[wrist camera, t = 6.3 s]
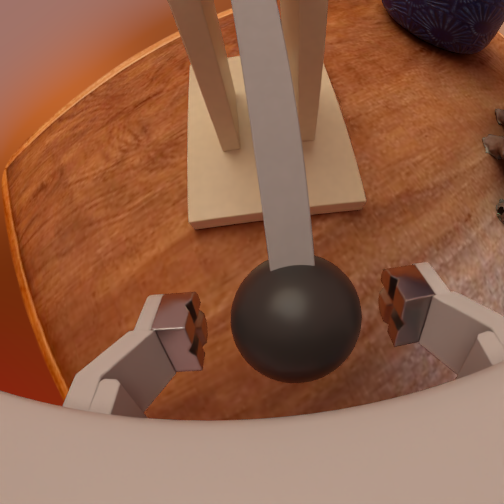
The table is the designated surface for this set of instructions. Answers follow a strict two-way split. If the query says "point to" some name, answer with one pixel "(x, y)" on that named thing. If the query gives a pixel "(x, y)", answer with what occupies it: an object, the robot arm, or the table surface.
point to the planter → (450, 21)
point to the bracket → (238, 123)
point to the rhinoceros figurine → (496, 149)
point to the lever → (285, 227)
